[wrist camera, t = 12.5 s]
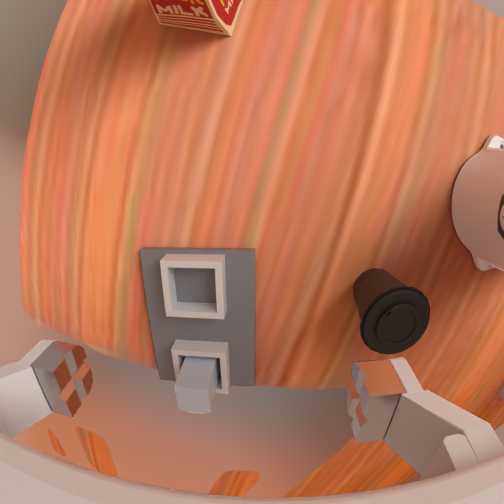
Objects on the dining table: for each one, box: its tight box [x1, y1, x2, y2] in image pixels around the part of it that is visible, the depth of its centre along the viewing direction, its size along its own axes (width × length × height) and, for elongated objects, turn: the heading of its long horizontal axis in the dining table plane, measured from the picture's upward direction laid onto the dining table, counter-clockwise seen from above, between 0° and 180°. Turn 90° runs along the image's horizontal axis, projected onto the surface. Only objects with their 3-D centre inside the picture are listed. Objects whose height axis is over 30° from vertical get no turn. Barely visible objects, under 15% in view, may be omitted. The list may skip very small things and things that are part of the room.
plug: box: [174, 356, 219, 414], centre depth 38 cm, size 4×5×8 cm
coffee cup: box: [354, 268, 430, 354], centre depth 34 cm, size 8×8×10 cm
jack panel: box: [140, 248, 255, 394], centre depth 39 cm, size 14×20×4 cm
